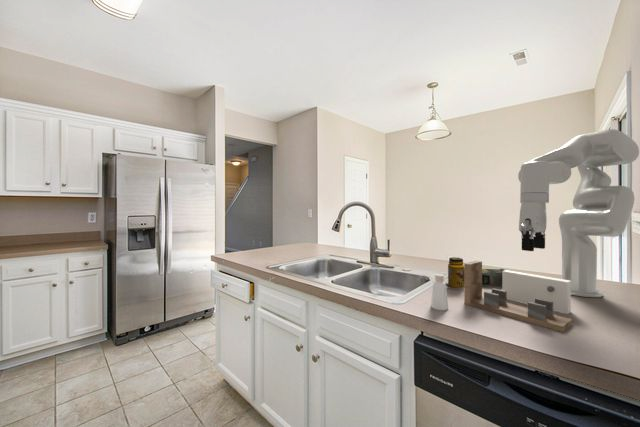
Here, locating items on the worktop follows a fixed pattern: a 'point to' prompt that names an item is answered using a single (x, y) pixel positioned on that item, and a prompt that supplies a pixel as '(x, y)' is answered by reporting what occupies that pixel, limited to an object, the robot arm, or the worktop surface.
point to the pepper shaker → (439, 293)
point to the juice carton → (492, 277)
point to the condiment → (455, 273)
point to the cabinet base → (497, 303)
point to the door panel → (537, 289)
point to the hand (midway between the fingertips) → (533, 249)
